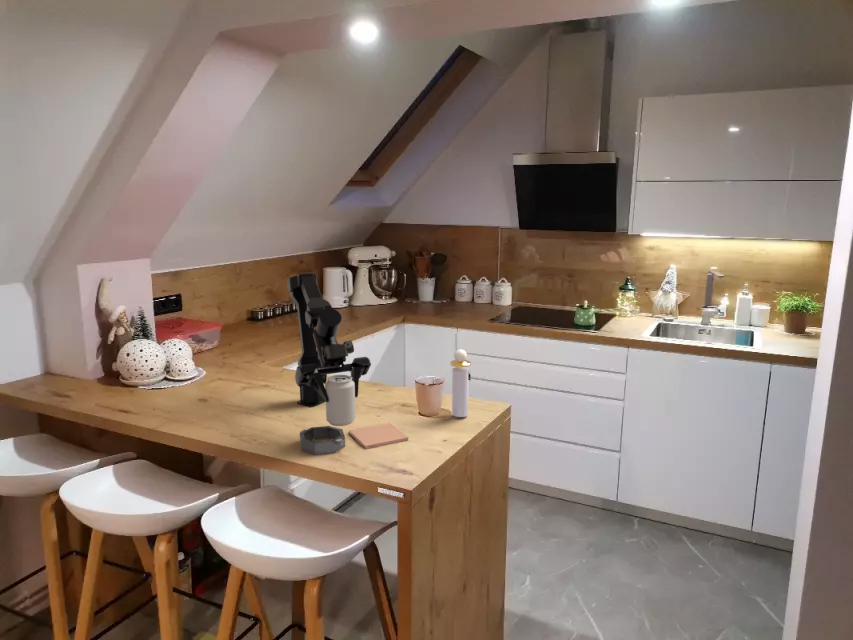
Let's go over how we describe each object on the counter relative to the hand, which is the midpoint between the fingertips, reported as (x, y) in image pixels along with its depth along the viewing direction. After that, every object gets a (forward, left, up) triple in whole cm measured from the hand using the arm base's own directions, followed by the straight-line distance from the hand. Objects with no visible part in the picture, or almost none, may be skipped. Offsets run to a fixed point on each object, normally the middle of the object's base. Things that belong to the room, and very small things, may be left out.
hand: (342, 399), depth 164 cm
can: (-1, +1, -7) cm, 7 cm away
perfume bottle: (+17, +33, -12) cm, 39 cm away
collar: (-4, -3, -12) cm, 13 cm away
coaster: (+5, +9, -12) cm, 16 cm away
